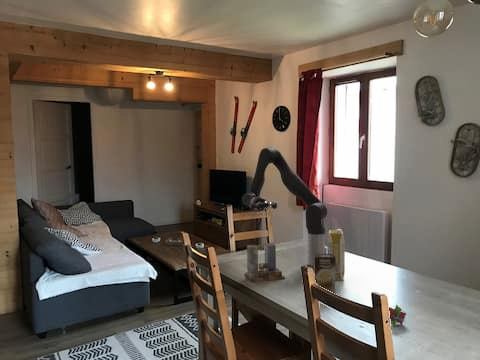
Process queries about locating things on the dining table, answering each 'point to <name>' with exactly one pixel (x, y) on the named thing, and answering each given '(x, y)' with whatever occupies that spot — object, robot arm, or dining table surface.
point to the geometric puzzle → (396, 315)
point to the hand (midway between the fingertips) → (267, 207)
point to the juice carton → (337, 251)
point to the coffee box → (325, 270)
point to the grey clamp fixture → (269, 258)
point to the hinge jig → (253, 266)
